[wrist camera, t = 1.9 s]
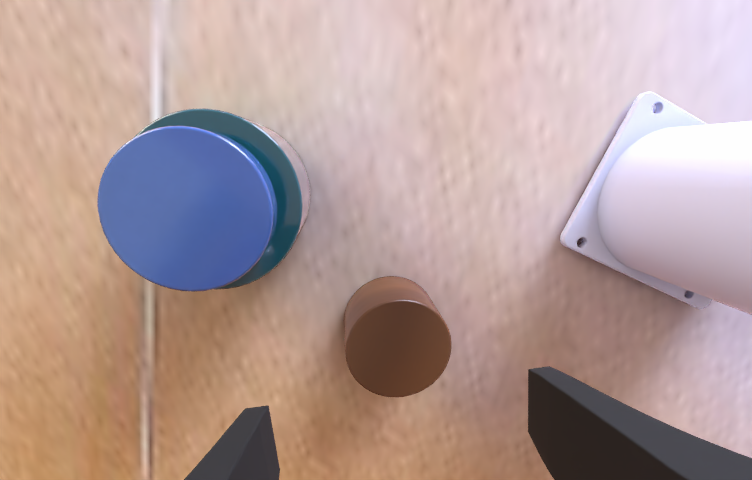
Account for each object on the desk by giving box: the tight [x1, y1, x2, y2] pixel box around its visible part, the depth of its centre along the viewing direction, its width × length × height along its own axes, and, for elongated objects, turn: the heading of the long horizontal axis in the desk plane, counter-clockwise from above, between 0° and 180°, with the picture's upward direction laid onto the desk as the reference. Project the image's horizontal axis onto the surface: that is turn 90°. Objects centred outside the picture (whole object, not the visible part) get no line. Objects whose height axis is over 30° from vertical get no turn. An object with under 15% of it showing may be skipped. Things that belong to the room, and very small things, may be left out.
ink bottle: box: [98, 109, 310, 291], centre depth 14 cm, size 6×6×6 cm
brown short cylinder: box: [344, 276, 451, 397], centre depth 18 cm, size 5×5×3 cm
